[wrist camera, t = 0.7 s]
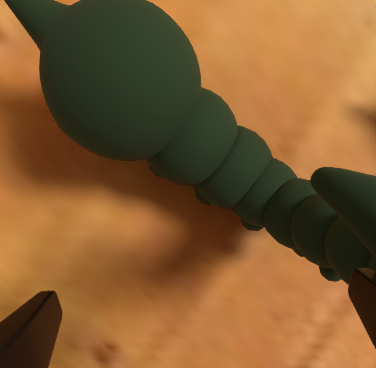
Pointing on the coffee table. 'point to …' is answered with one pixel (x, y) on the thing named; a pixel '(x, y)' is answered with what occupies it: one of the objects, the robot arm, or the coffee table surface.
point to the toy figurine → (188, 128)
